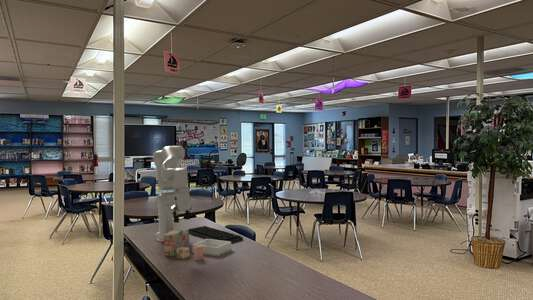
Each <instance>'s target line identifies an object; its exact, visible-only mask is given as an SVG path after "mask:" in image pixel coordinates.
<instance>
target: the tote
mask: <svg viewBox="0 0 533 300" xmlns="http://www.w3.org/2000/svg"><path fill="white" fill-rule="evenodd" d="M191 246H192V247H191V252H192V254H194V246H203V256H210V257H221V256H223V255H225V254H227V253H228V252H231V251H232V243H231V242H229V241H221V240H213V239H202V240H200V241H197V242H195V243H193V244H191Z"/></svg>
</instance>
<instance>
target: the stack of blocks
mask: <svg viewBox="0 0 533 300" xmlns="http://www.w3.org/2000/svg"><path fill="white" fill-rule="evenodd" d="M163 246H164V248H163V249H164V251H163V252H164V255H163V256H164V257H165V256H166V257H175V256H177V249H178V248H180V247H189V246H190V234H189V231H186V230H183V229H174V230H172V231H170V232H169V233H167V234H165V235H164V242H163Z"/></svg>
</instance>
